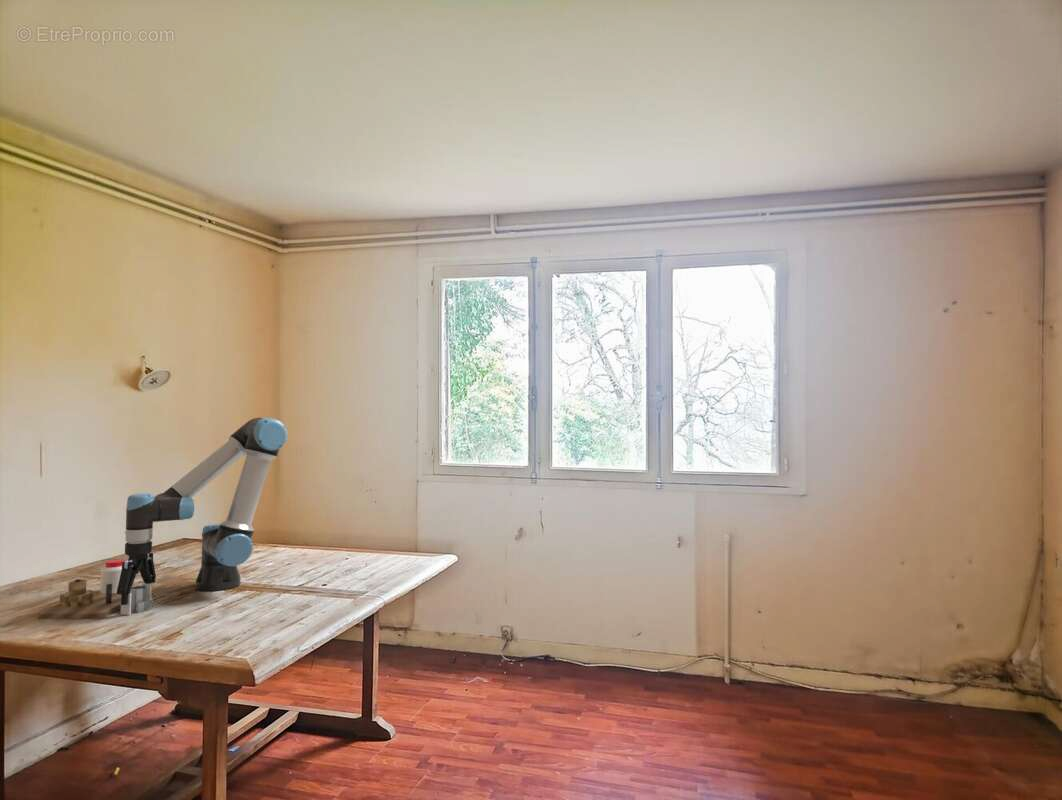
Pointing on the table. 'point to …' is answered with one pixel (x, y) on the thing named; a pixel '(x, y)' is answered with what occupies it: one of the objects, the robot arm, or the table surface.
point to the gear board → (85, 609)
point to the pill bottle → (111, 575)
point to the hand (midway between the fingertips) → (136, 608)
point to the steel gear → (139, 600)
